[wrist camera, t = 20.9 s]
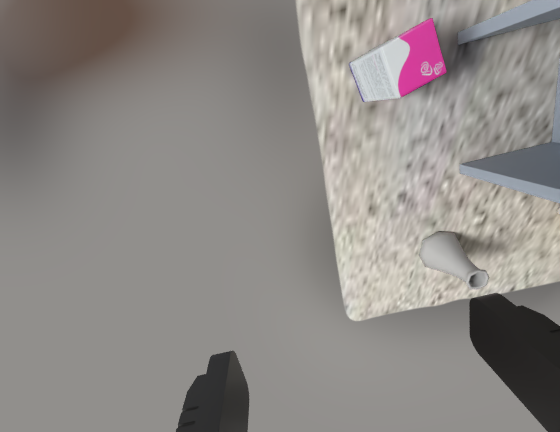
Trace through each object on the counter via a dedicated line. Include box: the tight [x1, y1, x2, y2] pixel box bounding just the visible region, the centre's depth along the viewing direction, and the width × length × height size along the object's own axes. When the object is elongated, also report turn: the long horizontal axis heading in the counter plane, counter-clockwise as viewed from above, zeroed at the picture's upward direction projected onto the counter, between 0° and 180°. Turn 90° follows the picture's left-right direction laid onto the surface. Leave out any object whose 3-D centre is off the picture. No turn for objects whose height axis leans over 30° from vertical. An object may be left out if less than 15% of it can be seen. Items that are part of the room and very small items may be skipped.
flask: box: [419, 232, 489, 289], centre depth 45 cm, size 7×7×10 cm
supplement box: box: [349, 18, 447, 102], centre depth 34 cm, size 6×6×12 cm
